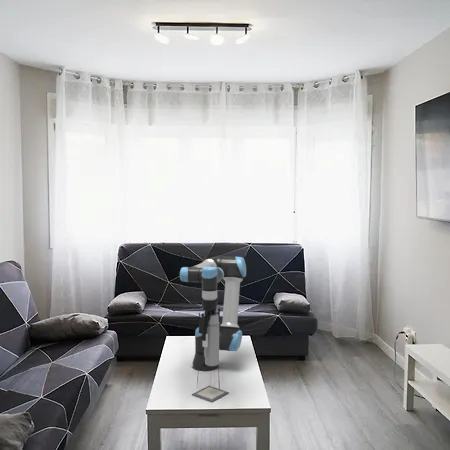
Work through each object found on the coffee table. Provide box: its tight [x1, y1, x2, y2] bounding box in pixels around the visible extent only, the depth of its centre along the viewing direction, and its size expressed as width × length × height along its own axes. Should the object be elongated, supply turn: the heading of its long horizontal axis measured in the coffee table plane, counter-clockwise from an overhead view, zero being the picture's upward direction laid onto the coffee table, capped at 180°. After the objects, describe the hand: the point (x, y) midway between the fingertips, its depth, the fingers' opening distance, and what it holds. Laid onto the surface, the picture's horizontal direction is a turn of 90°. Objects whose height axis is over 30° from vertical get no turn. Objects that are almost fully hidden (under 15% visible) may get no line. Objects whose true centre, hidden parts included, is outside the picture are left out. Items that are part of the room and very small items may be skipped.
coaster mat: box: [191, 385, 230, 403], centre depth 224 cm, size 13×13×1 cm
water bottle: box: [204, 313, 221, 366], centre depth 223 cm, size 9×8×25 cm
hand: (209, 344), depth 222 cm, fingers open, 6 cm apart
